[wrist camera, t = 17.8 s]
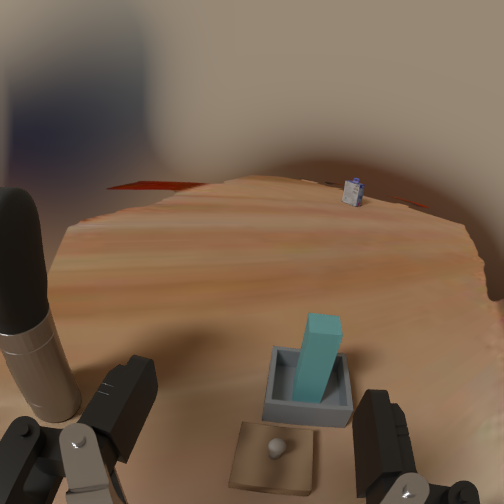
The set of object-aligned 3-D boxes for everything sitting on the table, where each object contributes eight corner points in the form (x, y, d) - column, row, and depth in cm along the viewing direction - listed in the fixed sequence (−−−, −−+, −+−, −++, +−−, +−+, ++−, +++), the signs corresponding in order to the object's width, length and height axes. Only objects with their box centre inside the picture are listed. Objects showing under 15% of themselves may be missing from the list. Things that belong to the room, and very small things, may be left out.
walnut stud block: (228, 487, 31) (229, 470, 28) (241, 429, 40) (243, 406, 37) (307, 496, 30) (318, 479, 27) (310, 437, 39) (319, 415, 36)
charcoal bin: (261, 420, 41) (265, 402, 40) (270, 364, 53) (273, 345, 51) (344, 427, 40) (353, 410, 38) (339, 371, 52) (346, 353, 50)
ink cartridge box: (361, 206, 164) (365, 180, 159) (356, 207, 161) (360, 180, 155) (347, 201, 171) (351, 176, 165) (341, 201, 168) (345, 176, 162)
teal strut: (292, 400, 44) (309, 332, 39) (293, 381, 48) (308, 312, 43) (319, 403, 44) (342, 335, 38) (319, 383, 48) (339, 316, 42)
